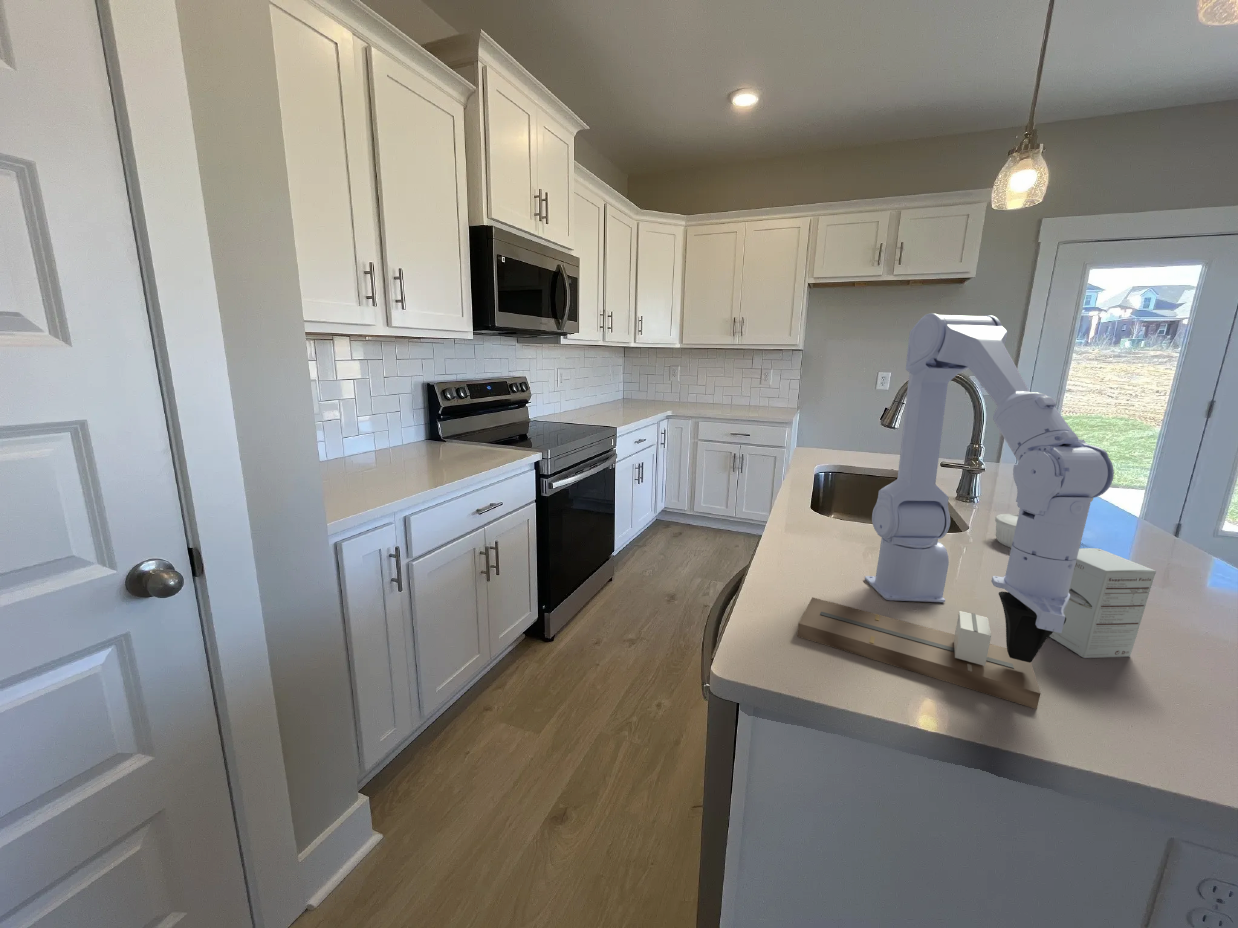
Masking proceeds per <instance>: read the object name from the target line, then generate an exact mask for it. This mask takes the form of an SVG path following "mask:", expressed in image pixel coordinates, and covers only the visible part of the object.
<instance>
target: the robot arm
mask: <svg viewBox="0 0 1238 928" xmlns="http://www.w3.org/2000/svg"><path fill="white" fill-rule="evenodd" d="M1007 336H1008V330H1007V329H1006V328H1005V327H1004V326H1003V325H1002V322H1001V320H1000V319H999V318H998V317H996V316H994V315H987V314H986V315H985V314H984V315H964V314H963V315H960V314H959V315H958V314H952V315H951V314H937V313H934V312H930V313H926V314H924V315H923V316H922V317H921V318H920V319H919V320H918V321H917V323H915V325H914V326H913V328H912V329H911V330H910V331H909V336H908V344H907V351H906V352H907V353H906V361H905V362H906V364H905V370H906V372H907V373H908V381H907V388H906V389H907V392H906V398H905V408H904V409H905V410H904V415H903V416H904V417H903V428H902V437H901V444H900V445H901V446H900V454H899V460H898V461H899V462H898V463H899V464H898V469H897V470H898V472H897V479H895V480H894V481H892V482H891V483H889V484H887V485H885V486H883V487H882V488H881V489H879V490H878V495H877V499H876V503H875V505H874V507H873V510H872V515H871V521H872V526H873V529H874V531H875V532H876V533H877V536H879V537H880V538H881V541H880V546H879V553H878V560H877V566H876V571H875V576H874V575H873V576H872V575H866V576H864V580H865V581H866V582H867V583H868V584H869V585H870V586H871V587H872V588H873V589H874V590H875V591H876V592H877V593H878V594H879V595H880V596H882V597H881V598H883V599H884V600H887V601H903V602H904V601H905V602H927V603H930V602H931V603H945V602H946V598H944V593H945V586H946V581H947V574H948V570H949V565H950V564H949V563H950V560H949V558H950V557H949V554H948V551H947V548H946V547H945V545H944V544H943V543H941V541H939V540H941V539H943V538H944V537H945V536H946V535H947V533H948V531H949V529H950V526H951V515H950V512H949V498H950V497H949V495H947V494H946V493H945V492H944V491H943V490H942V489H941V488H940V487H939V486H938V485H937V484H936V482H937V475H938V473H937V472H938V466H939V458H940V452H941V450H940V449H941V443H942V434H943V426H944V419H945V418H944V416H945V410H946V409H945V408H946V403H947V395H948V394H947V393H948V386H949V383H950V382H951V381H952V380H953V379H954V378H955V377H956V376H958V375H959V374H963V373H965V372H967V371H968V370H969V371H970V372H971V373H972V375H974V378H976V380H977V381H978V382H979V383H980V384H981V386H982V388H983V389H984V390H985V391H986V393H987V394H988V396H989V397H990V399H992V401H993V402H994V403H995V405H996V409H995V410H994V411H993V412H994V413H993V415H992V420H993V422H994V424H995V425H996V427H997V429H998V430H999V432H1000V434H1001V435H1002V437H1003V439H1004V440H1005V442H1006V443H1007V445H1008V447H1009V448H1010V450H1011V452H1012V453H1013V456H1014V457H1015V459H1016V460H1017V464H1014V465H1013V469H1012V471H1013V473H1012V475H1013V479H1014V483H1015V486H1016V490H1017V491H1016V492H1017V494H1016V499H1015V502H1017V503H1016V504H1017V505H1016V506H1017V507H1018V508H1019V511H1018V514H1017V515H1018V519H1017V524H1016V529H1015V533H1014V538H1013V543H1012V547H1011V548H1010V551H1009V557H1008V561H1007V562H1008V563H1007V566H1006V570H1005V575H1004V576H997V575H993V576H991V583H992V585H993V587H995V588H999V589H1001V590H1002V589H1004V590H1005V591H999V592H998V596H999V598H1000V602H1001V604H1002V609H1003V613H1004V620H1005V642H1006V648H1007V652H1008V654H1009V657H1010V658H1013V659H1017V660H1021V661H1025V662H1029V663H1030V662H1031V663H1032V662H1033V660H1034V659H1035V657H1036V656H1037V655H1038V653H1039V651H1040V650H1041V648H1042V646H1043V645H1044V643H1045V642H1046V641H1047V639H1048V638H1050V637H1049V636H1050V635H1051V634H1052V633H1053V632H1058V633H1062V629H1063V625H1064V624H1065V622H1066V617H1065V615H1064V611H1065V608H1066V606H1067V604H1068V602H1069V599H1070V594H1069V588H1070V584H1071V580H1072V576H1073V572H1074V568H1075V564H1076V560H1077V556H1078V552H1079V548H1080V547H1081V544H1082V539H1083V536H1084V531H1085V527H1086V523H1087V520H1088V515H1089V512H1090V506H1091V503H1092V502H1091V499H1092V498H1093V499H1094V498H1098V497H1100V496H1101V495H1104V494H1105V493H1106V492H1107V491H1108V490H1109V488H1110V487H1111V486H1112V484H1113V482H1114V476H1115V475H1114V474H1115V470H1114V465H1113V462H1112V461H1111V459H1110V457H1109V454H1108V452H1107V451H1106V450H1105V449H1104V448H1102V447H1099V446H1097V445H1092V444H1088V443H1087V442H1086V441H1085V440H1084V439H1081V438H1079V437H1078V435H1077V434H1076V432H1075V431H1073V430H1072V428H1071V427H1070V426H1069V424H1068V423H1067V421H1065V419H1064V417H1063V416H1062V413H1060V412H1059V410H1058V409H1057V407H1056V406H1058V404H1057V402H1056V401H1055V400H1054V398H1053V397H1052V396H1048V395H1047V394H1045V393H1043V392H1042V393H1041V392H1037V391H1035V392H1034V391H1033V392H1032V391H1030V389H1029V388H1028V385H1027V384H1026V382H1025V380H1024V379H1023V376H1022V375H1021V373H1020V371H1019V370H1018V367H1017V365H1016V364H1015V362H1014V360H1013V359H1012V357H1011V354H1010V353H1009V351H1008V349H1007V348H1006V346H1005V345H1006V342H1007V338H1008V337H1007Z"/></svg>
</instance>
